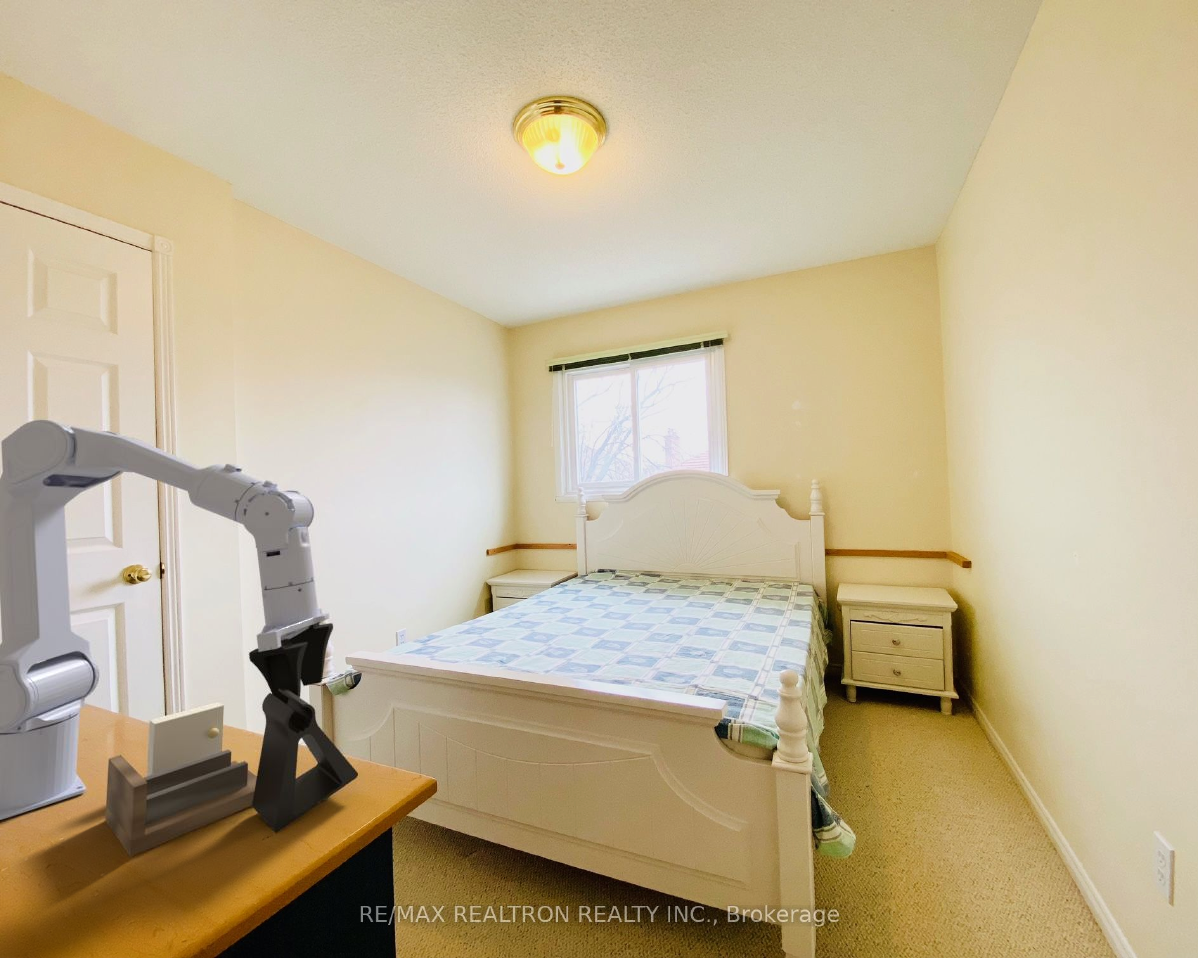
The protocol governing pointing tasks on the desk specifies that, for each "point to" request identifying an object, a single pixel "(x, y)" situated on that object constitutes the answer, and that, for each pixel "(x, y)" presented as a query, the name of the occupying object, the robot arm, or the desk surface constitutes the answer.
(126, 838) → the brown base with rails
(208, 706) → the cabinet door
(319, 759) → the phone stand
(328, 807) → the desk surface
